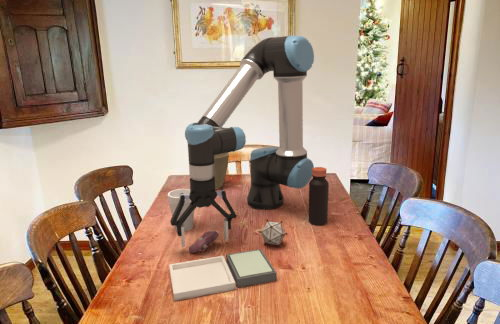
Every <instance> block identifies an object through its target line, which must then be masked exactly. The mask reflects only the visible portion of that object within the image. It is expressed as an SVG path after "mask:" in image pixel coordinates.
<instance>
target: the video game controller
mask: <svg viewBox="0 0 500 324" xmlns="http://www.w3.org/2000/svg"><path fill="white" fill-rule="evenodd" d="M219 236H220V233H219V232H217V230H214V229H211V230H210V231H209V230H208V231H205V232H204V233H202V235H201V236H200V237H199V238H197V240H196V241H195V242H193V243H192V244H191V245H189V247H188V252H189V253H191V254H195V253H197V252H199V251H201V252H204V251H206V249H207V248H210V247H211V246H213V243H214V242H215V241H216V240H217V239H218V238H219Z"/></svg>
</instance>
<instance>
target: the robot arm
mask: <svg viewBox="0 0 500 324" xmlns="http://www.w3.org/2000/svg"><path fill="white" fill-rule="evenodd" d="M314 62H315V53H314V47H313V45H312V43H311V42H310V41H309V40H308V38H306V37H305V36H303V35H293V34H292V35H286V36H276V37H267V38H263V39H262V40H261V41H259V42H257V43H256V44H255V45H254V46H252V48H251V49H250V50H249V51H247V53H246V54H245V55H244V57H243V58H242V59H241V61H240V62H239V68H238V69H237V70H236V72H235V73H234V74H233V75H232V77H231V78H230V79H229V80H228V82H227V84H225V86H224V87H223V88H222V90H221V91H220V92H219V94H218V95H217V97H216V98H215V99H214V101H213V102H212V103H211V104H210V106H209V107H208V108H207V110H206V111H205V112H204V113H203V115H202V116H201V118H200V119H199V120H198V121H197V122H192V123H190V124H188V125H187V126H186V127H185V131H184V137H185V140H186V142H187V151H188V152H187V153H188V155H187V157H188V170H189V171H188V172H189V177H190V178H189V189H190V194H183V193H181V194H180V200H179V203H178V205H177V207H176V209H175V211H174V214H173V216H172V215H171V219H170V225H171V226H172V227H175V226H177V230H176V233H177V237H180V239H181V240H180V241H181V246H182V248H185V247H186V244H185V243H186V242H185V241H186V240H185V231H184V226H183V223H184V222H185V220H186V219H187V218H188V216H189V215H190V214H191V213H192V211H193V210H194V211H195V209H197V208H198V209H200V208H208V207H210V206H212V207H214V209H216V210H217V212H219V213H220V214H221V216H223V217H224V218H223V238H224V239H225V241H226V242H228V241H229V230H231V229H232V222H233V219H236V218H237V217H238V215H237V214H236V212H235V210H234V208H233V207H232V205H231V203H230V201H229V200H228V198H227V193H226V191H225V189H224V188H222V189H221V188H220V190H217V191H216V189H215V178H214V177H213V176H214V175H215V169H214V155H218V154H223V153H232V152H233V153H235V152H236V151H239V150H242V149H243V148H244V147H245V145H246V142H247V141H246V137H247V136H246V133H245V132H244V130H243V129H242V128H240V127H239V126H238V127H237V126H234V127H233V126H230V127H223V126H224V125H225V124H226V123H227V121H228V120H229V118H230V117H231V116H232V114H233V113H234V112H235V110H236V108H238V106H239V105H240V104H241V102H242V100H244V98H245V97H246V95H247V94H248V92H249V91H250V90H251V88H252V87H253V86H254V84H255V83H256V82H257V80H261V79H262V78H263V77H264V75H266V74H267V73H269V72H273V75H272V76H273V79H274V80H276V81H277V94H278V98H277V99H278V102H277V103H278V133H279V134H278V135H279V137H278V139H279V142H278V143H279V147H276V146H269V147H258V148H255V149H253V150H252V151H251V152H250V158H249V159H250V160H249V165H250V166H249V167H250V169H249V170H250V186H249V187H250V188H249V191H248V194H247V198H246V203H247V205H248V206H249V207H250V208H252V209H256V210H264V211H265V210H275V209H278V208H281V207H282V206H284V204H285V198H284V194H283V191H282V189H281V186H280V185H282V186H286V187H288V188H290V189H291V188H292V189H293V188H294V189H298V190H299V189H302V188H304V187H305V186H307V185H309V182H310V181H311V180H312V178H313V176H312V168H314V163H313V161H312V160H311V159H309V158H308V151H307V150H306V148H304V138H303V137H304V135H303V134H304V132H303V131H304V127H303V125H304V123H303V122H304V119H303V117H304V116H303V115H304V113H303V103H304V102H303V81H304V80H305V79H306V78H307V76H308V71H310V70H311V69H312V67H313V64H314ZM217 197H219V199H222V200H223V202H224V204H225V206H226V208H227V209H228V212H229V213H228V212H227V211H226V210H225V209H224V208H223V207H221V205H220V204H218V202H217V201H216V198H217ZM187 199H190V200H191V203H190V204H189V206H188V207H187V209H186V210H185V211H184V213H183V214H182V215H181V216H180V218H179V219H178V217H179V215H180V212H181V210H182V208H183V206H184V202H186V201H187ZM177 219H178V220H177Z"/></svg>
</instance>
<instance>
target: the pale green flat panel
mask: <svg viewBox="0 0 500 324" xmlns="http://www.w3.org/2000/svg"><path fill="white" fill-rule="evenodd" d="M256 250H257V249H256ZM250 251H251V250H250ZM244 252H245V251H244ZM231 254H232V253H231ZM230 260H231V262H232V264H233V266H234V268H235V270H236V272H237V274H238V276H239V278H242V277H247V276H253V275H258V274H264V273H269V272H273V271H272V269H271V268H270V266H269V265H268V263H267V262H266V260H265V258H264V257H263V255H262V254H261V252H260V251H259V250H257V251H251V252H245V253H239V254H232V255H230Z"/></svg>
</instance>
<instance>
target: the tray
mask: <svg viewBox="0 0 500 324" xmlns="http://www.w3.org/2000/svg"><path fill="white" fill-rule="evenodd" d="M168 267H169V275H170V281H171V287H172V288H171V289H172V294H173V302H176V301H177V302H178V301H182V300H188V299H192V298H197V297H202V296H208V295H213V294H218V293H224V292H229V291H235V290H236V288H237V286H236V282H235V280H234V278H233V275H232V273H231V271H230V269H229V266H228V264H227V261H226V259H225V257H224V255H219V256H213V257H206V258H201V259H195V260H194V259H193V260H187V261H182V262H176V263H170V264H168Z"/></svg>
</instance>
